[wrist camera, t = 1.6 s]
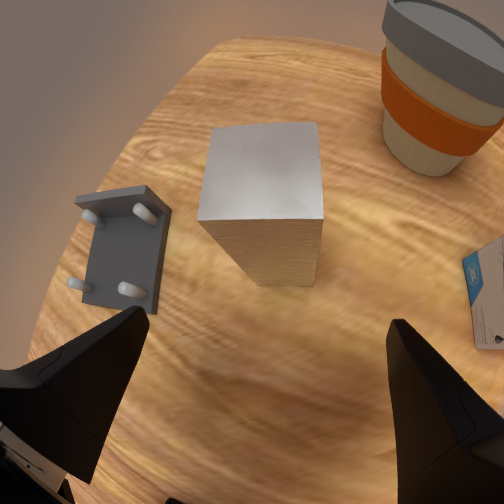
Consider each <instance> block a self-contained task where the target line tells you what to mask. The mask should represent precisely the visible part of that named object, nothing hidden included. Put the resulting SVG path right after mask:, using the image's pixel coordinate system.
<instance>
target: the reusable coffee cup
mask: <svg viewBox="0 0 504 504" xmlns="http://www.w3.org/2000/svg"><path fill="white" fill-rule="evenodd" d="M382 30H383V32H384V34H385V36H386V47H385V48H384V50H383V52H382V83H381V95H382V101H383V103H384V105H385V110H384V123H383V137H384V140H385V143H386V145H387V146H388V148H389V150H390V151H391V152H392V154H393V155H394V156H395V157H396V158H397V159H398V160H399V161H400V162H401V163H402V164H404V165H405V166H406V167H408V168H410V169H411V170H413V171H415V172H417V173H420V174H422V175H426V176H432V177H438V176H443V175H446V174H448V173H449V172H450V171H451V170H452V169H453V168H454V167H455V166H456V165H457V164H458V163H459V162H460V161H462V160H463V159H464V158H465V157H466V156H470V155H472V154H474V153H476V152H477V151H478V150H479V149H480V148H481V147H482V146H483V145H484V144H485V143H486V142H487V141H488V140H489V139H490V138H491V137H492V136H493V135H494V134H495V132H496V131H497V130H498V129H499V128H500V127H501V126H502V125H503V123H504V40H503V39H502V38H501V37H500V36H498V35H497V34H496V33H495V32H493V31H492V30H491V29H489V28H488V27H486V26H485V25H484V24H482V23H481V22H479V21H478V20H476V19H474V18H473V17H471V16H469V15H467V14H465V13H464V12H462V11H459V10H458V9H455V8H453V7H451V6H449V5H446V4H444V3H441V2H438V1H435V0H388V1H387V6H386V10H385V15H384V19H383V23H382Z"/></svg>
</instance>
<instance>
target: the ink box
mask: <svg viewBox="0 0 504 504" xmlns="http://www.w3.org/2000/svg"><path fill="white" fill-rule="evenodd" d="M463 266H464V270H465V275H466V280H467V285H468V291H469V297H470V303H471V310H472V318H473V328H474V338H475V348H476V349H491V350H504V235H502V236H500V237H499V238H497V239H496V240H494V241H492V242H491V243H489V244H488V245H486V246H485V247H483V248H481V249H480V250H478V251H476V252H475V253H473V254H471V255H470V256H468V257H466V258H464V259H463Z"/></svg>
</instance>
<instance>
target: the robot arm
mask: <svg viewBox="0 0 504 504" xmlns="http://www.w3.org/2000/svg"><path fill="white" fill-rule="evenodd" d="M149 326H150V324H149V320H148V317H147V315H146V312H145V310H144V308H143V307H142V306H136V305H133V306H131V307H129V308H127V309H126V310H124V311H122V312H120V313H119V314H117V315H115V316H113V317H111V318H110V319H108V320H106V321H104V322H103V323H101V324H99V325H97V326H96V327H94V328H92V329H90V330H89V331H87V332H85V333H83V334H81V335H80V336H78V337H76V338H74V339H73V340H71V341H69V342H68V343H66V344H64V345H62V346H60V347H59V348H57V349H55V350H53V351H52V352H50V353H48V354H46V355H44V356H42V357H40V358H38V359H36V360H34V361H32V362H30V363H28V364H26V365H24V366H21V367H20V368H17V369H14V370H1V369H0V504H75V501H74V498H73V495H72V492H71V489H70V485H69V482H68V480H67V479H65V476H66V474H67V472H68V473H69V474H71V475H73V476H75V477H76V478H78V479H80V480H82V481H83V482H85V483H87V484H90V483H91V480H92V477H93V474H94V471H95V468H96V465H97V462H98V460H99V457H100V454H101V451H102V448H103V446H104V443H105V440H106V437H107V435H108V432H109V430H110V427H111V424H112V422H113V419H114V417H115V414H116V412H117V409H118V407H119V404H120V402H121V400H122V397H123V395H124V392H125V390H126V388H127V385H128V383H129V381H130V378H131V376H132V374H133V371H134V369H135V367H136V365H137V362H138V360H139V357H140V354H141V351H142V348H143V345H144V342H145V339H146V336H147V333H148V330H149ZM386 348H387V363H388V381H389V388H390V395H391V402H392V410H393V419H394V428H395V439H396V452H397V473H398V504H504V419H503V418H502V417H501V416H500V415H499V414H498V413H497V412H496V411H495V410H494V409H493V408H491V407H490V406H489V405H488V404H487V403H486V402H485V401H484V400H483V399H482V398H481V397H480V396H479V395H478V394H477V393H476V392H475V391H474V390H473V389H472V388H471V387H470V386H469V384H468V383H467V382H466V381H464V379H463V378H462V377H461V376H460V375H459V374H458V373H457V372H456V371H455V370H454V369H453V367H452V366H451V365H450V364H449V363H448V362H447V361H446V360H445V359H444V358H443V357H442V356H441V355H440V354H439V353H438V352H437V351H436V350H435V349H434V348H433V347H432V346H431V345H430V344H429V343H428V342H427V341H426V340H425V339H424V338H423V337H422V336H421V335H420V334H419V333H418V332H417V331H416V330H415V329H414V328H413V327H412V326H411V325H410V324H409V323H408V322H407V321H406V320H404V319H393V320H392V321H391V324H390V327H389V331H388V334H387V337H386ZM171 502H172V503H171ZM165 504H183V503H181V502H178V501H176V500H174V499H172V498H169V499H167V500H166V502H165Z"/></svg>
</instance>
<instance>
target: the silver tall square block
mask: <svg viewBox="0 0 504 504" xmlns="http://www.w3.org/2000/svg"><path fill="white" fill-rule="evenodd" d="M323 220H324V215H323V194H322V177H321V163H320V151H319V140H318V130H317V122H284V123H265V124H251V125H239V126H229V127H221V128H213V130H212V135H211V140H210V146H209V151H208V156H207V161H206V167H205V173H204V178H203V184H202V190H201V196H200V203H199V209H198V216H197V221H198V223H199V224H200V225H201V226H202V227H203V228H204V229H205V230H206V231H207V232H208V233H209V234H210V235H211V237H212V238H213V239H214V240H215V241H216V242H217V243H218V244H219V245H220V246H221V247H222V248H223V249H224V250H225V251H226V253H227V254H228V255H229V256H230V257H231V258H232V259H233V260H234V261H235V262H236V263H237V264H238V265H239V266H240V267H241V268H242V270H243V271H244V272H245V273H246V274H247V275H248V276H249V277H250V278H251V279H252V280H253V281H254V282H255V283H256V284H257V285H261V286H310V287H313V284H314V278H315V272H316V266H317V260H318V254H319V248H320V241H321V234H322V227H323Z"/></svg>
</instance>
